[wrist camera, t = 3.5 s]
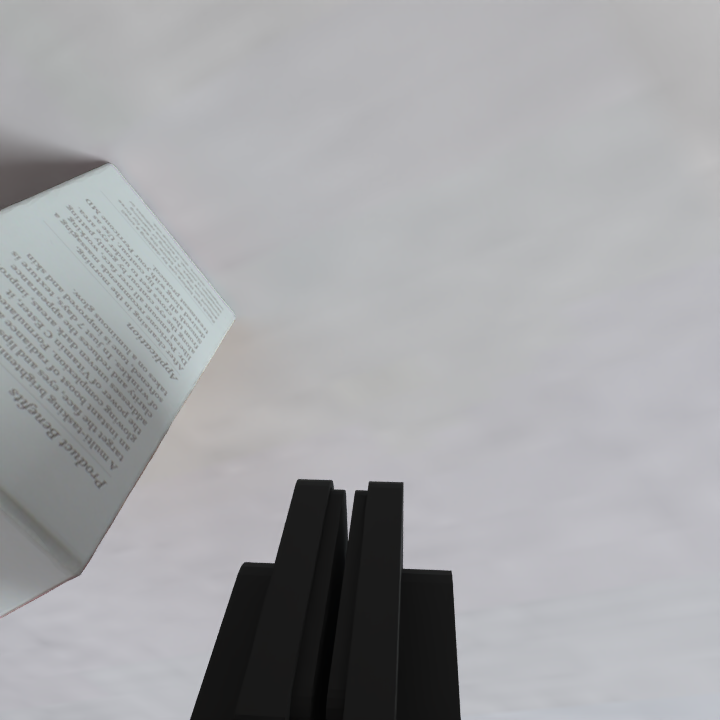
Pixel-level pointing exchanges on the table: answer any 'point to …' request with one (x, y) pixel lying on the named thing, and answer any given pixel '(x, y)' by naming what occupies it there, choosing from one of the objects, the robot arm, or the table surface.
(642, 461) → the table surface
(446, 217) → the table surface
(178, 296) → the small box
